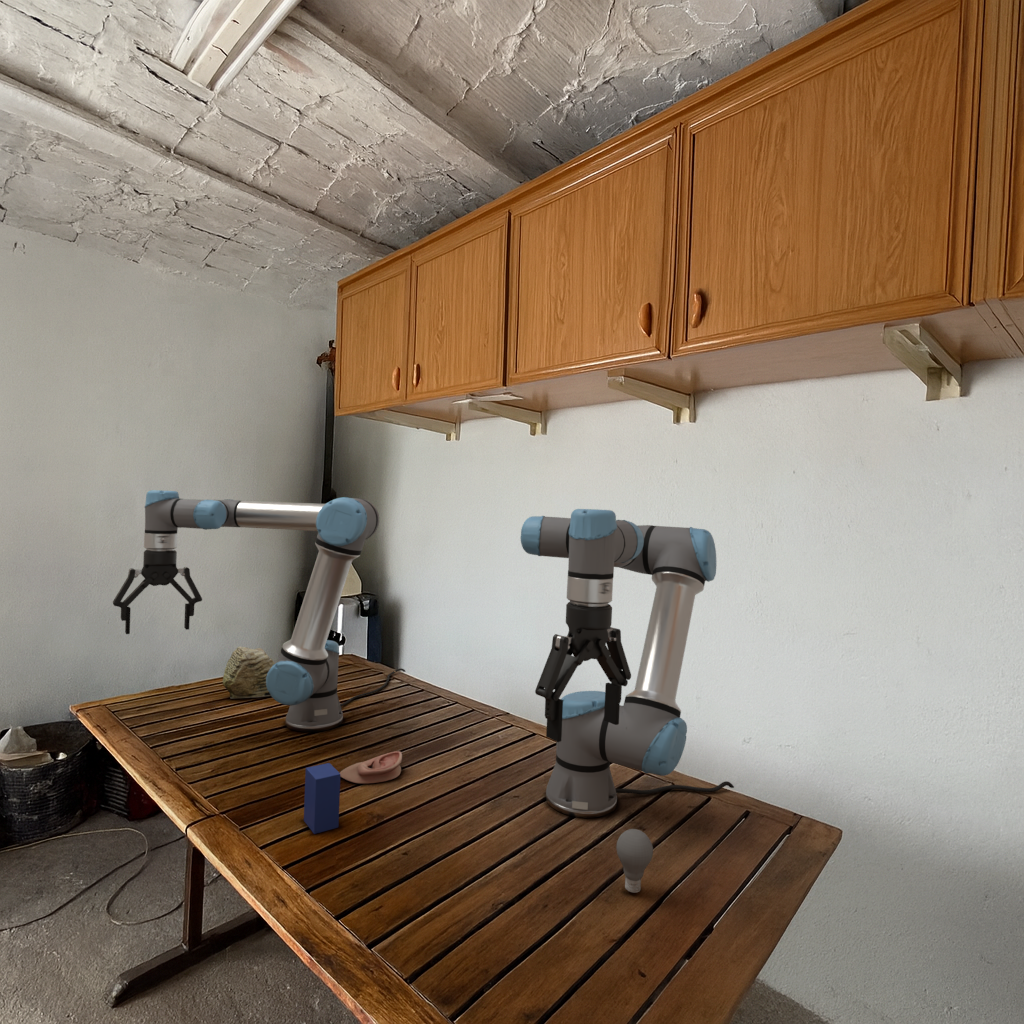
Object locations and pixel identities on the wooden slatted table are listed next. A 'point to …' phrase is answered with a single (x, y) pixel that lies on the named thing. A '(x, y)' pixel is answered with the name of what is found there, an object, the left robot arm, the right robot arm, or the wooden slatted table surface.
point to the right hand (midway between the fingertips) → (583, 730)
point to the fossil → (247, 673)
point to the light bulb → (634, 857)
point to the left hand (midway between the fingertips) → (157, 630)
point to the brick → (322, 798)
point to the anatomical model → (374, 769)
